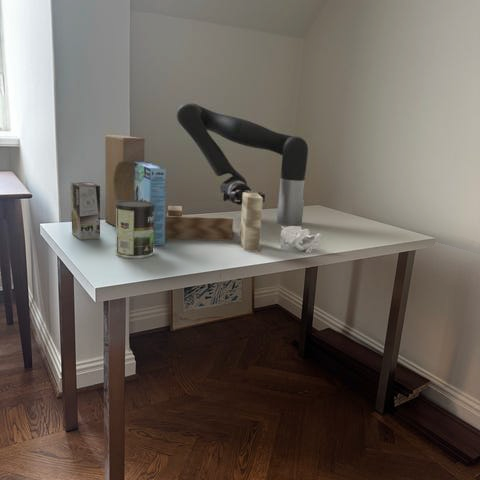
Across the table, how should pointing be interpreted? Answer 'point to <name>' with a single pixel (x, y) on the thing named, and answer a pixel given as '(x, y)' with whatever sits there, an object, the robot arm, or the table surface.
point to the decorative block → (120, 170)
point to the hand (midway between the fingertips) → (246, 200)
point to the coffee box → (85, 210)
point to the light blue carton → (152, 194)
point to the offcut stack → (174, 211)
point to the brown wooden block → (198, 228)
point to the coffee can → (134, 228)
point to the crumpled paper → (299, 238)
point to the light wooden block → (251, 221)
